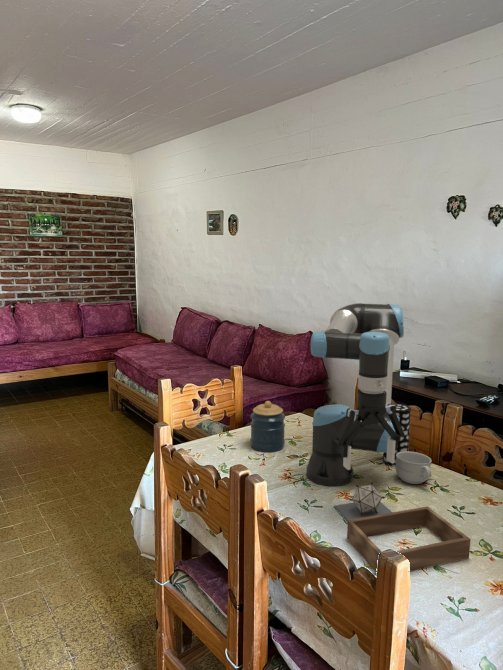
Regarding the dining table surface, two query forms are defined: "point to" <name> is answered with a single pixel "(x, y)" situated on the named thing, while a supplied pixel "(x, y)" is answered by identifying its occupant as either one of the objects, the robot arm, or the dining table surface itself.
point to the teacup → (413, 467)
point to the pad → (352, 511)
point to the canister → (267, 428)
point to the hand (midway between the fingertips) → (368, 464)
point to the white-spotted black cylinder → (403, 444)
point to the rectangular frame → (419, 557)
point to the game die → (366, 498)
